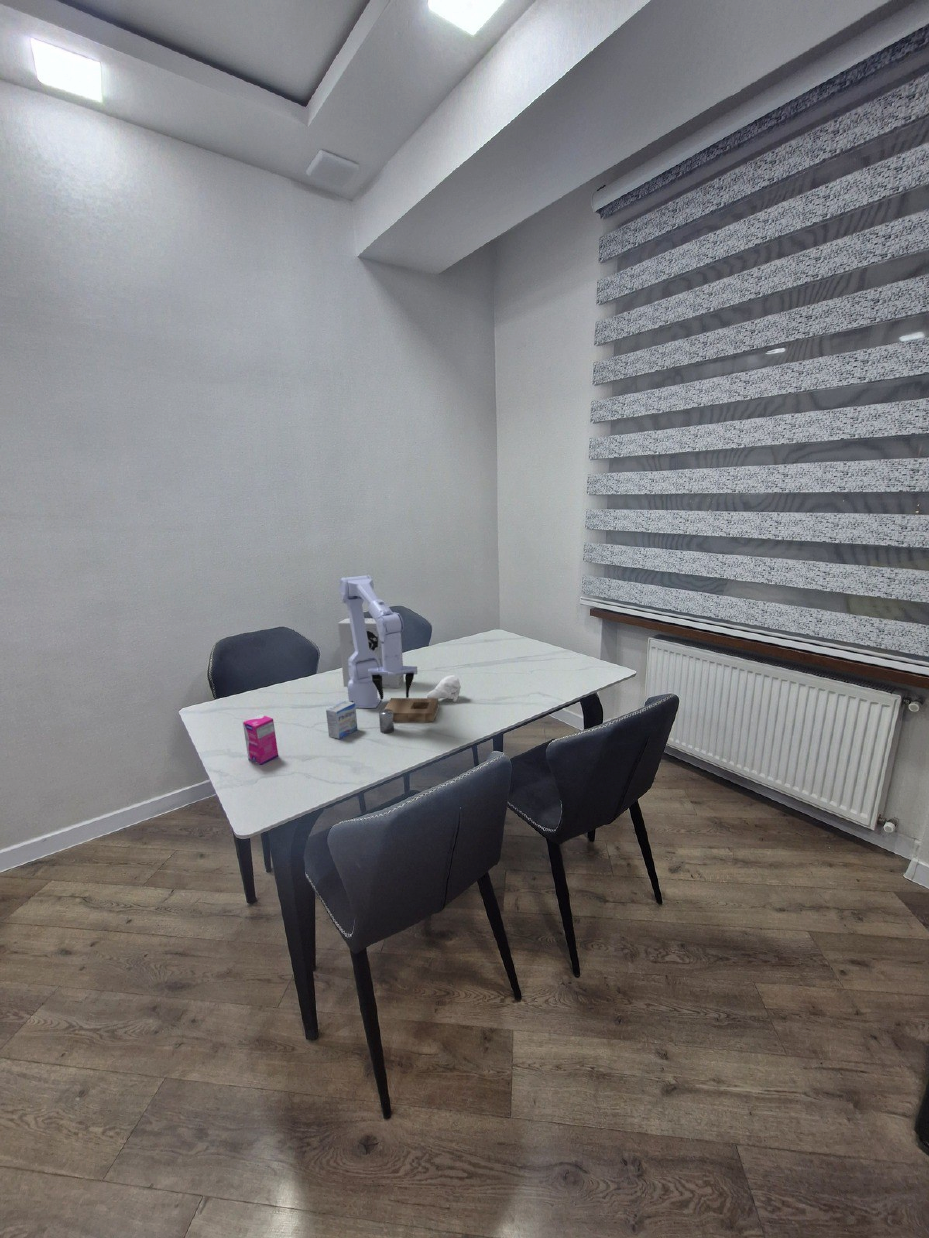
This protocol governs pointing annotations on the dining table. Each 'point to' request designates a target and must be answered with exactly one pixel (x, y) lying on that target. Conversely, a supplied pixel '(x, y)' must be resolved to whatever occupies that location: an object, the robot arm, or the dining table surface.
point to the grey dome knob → (386, 721)
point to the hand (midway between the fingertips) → (394, 697)
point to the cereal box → (374, 646)
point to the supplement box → (260, 739)
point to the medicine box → (341, 719)
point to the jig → (413, 709)
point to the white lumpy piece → (446, 689)
